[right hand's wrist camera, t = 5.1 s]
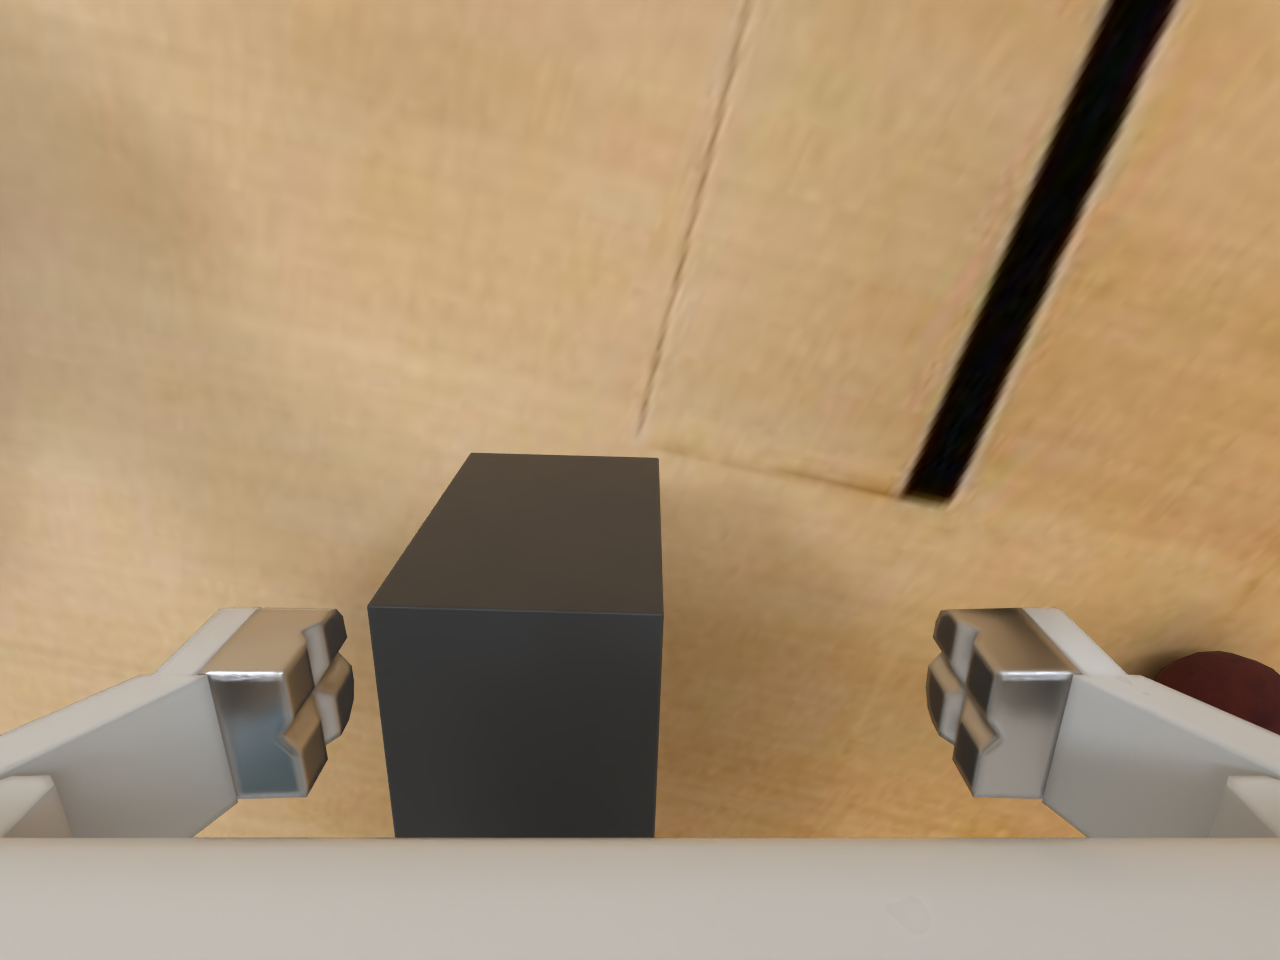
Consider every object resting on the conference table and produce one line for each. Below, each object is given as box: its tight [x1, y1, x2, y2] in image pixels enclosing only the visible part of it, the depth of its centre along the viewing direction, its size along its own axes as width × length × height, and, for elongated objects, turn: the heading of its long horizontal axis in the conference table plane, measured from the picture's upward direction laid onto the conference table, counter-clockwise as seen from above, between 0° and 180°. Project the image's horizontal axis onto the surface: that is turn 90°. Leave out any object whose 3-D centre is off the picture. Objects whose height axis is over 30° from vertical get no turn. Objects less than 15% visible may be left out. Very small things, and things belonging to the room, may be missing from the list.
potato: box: [1153, 651, 1280, 735], centre depth 36 cm, size 7×8×7 cm
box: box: [367, 453, 664, 838], centre depth 26 cm, size 25×6×10 cm, turn 179°
